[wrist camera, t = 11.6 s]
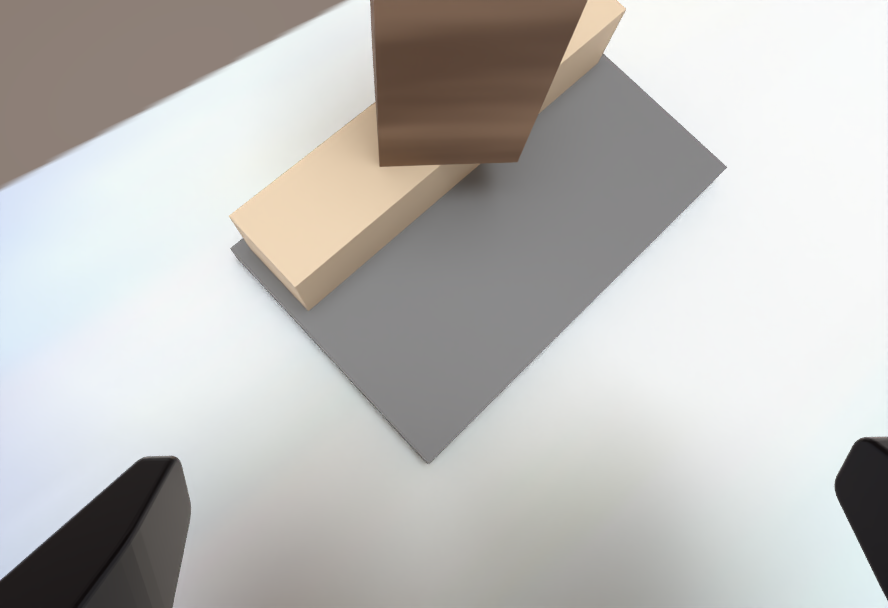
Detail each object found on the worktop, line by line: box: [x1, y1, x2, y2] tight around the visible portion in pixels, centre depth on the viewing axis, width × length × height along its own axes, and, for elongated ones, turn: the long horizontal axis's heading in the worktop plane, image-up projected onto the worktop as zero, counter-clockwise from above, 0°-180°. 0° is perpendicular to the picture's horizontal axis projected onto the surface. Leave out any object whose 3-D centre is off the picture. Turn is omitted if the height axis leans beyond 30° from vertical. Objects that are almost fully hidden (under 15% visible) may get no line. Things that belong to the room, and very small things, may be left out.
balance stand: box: [229, 0, 727, 464], centre depth 21 cm, size 10×16×4 cm, turn 134°
